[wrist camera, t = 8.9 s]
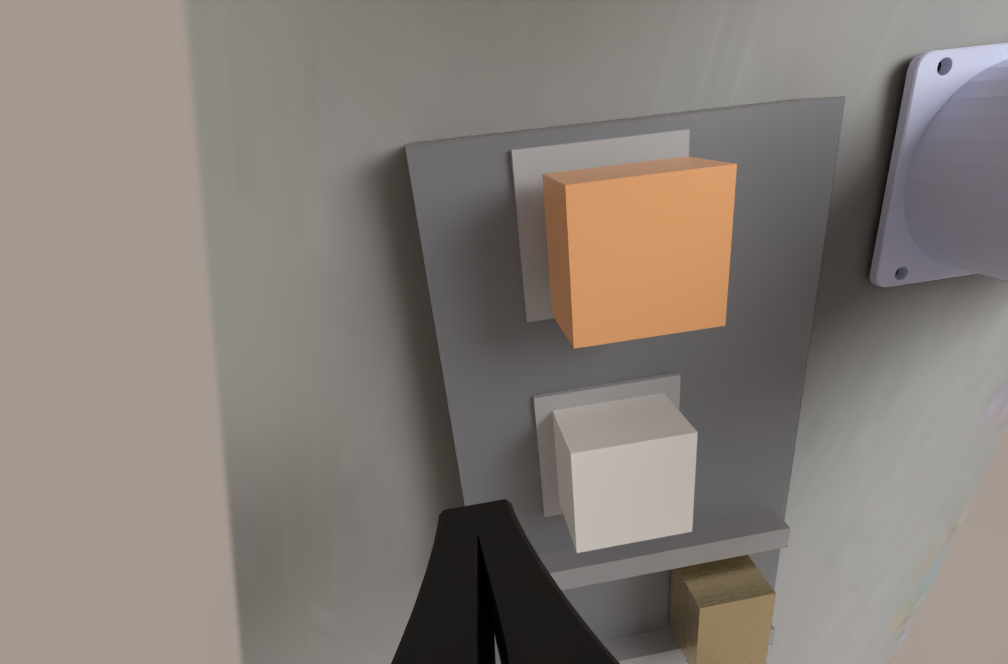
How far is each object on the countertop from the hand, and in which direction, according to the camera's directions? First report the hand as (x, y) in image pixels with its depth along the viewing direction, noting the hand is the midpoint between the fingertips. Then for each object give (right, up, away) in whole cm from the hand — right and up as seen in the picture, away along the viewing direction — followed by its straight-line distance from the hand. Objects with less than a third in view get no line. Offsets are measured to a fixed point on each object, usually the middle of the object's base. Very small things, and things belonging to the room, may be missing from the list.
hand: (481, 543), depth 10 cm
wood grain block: (+9, -7, +12) cm, 17 cm away
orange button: (+4, +7, +4) cm, 9 cm away
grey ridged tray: (+5, 0, +11) cm, 12 cm away
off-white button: (+4, 0, +9) cm, 10 cm away
